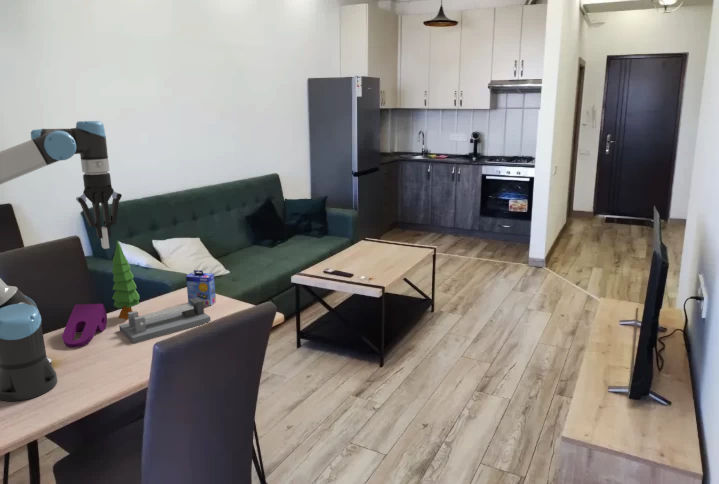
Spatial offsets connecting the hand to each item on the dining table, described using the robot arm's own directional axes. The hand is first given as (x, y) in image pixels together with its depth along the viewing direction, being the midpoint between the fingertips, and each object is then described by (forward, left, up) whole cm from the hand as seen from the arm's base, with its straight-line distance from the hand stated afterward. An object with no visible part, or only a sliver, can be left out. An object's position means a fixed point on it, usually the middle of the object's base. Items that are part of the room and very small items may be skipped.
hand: (105, 247), depth 171 cm
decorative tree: (+12, +25, -35) cm, 44 cm away
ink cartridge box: (+39, +20, -35) cm, 56 cm away
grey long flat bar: (+19, +7, -30) cm, 36 cm away
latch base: (+19, +7, -34) cm, 40 cm away
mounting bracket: (-6, +17, -35) cm, 39 cm away
